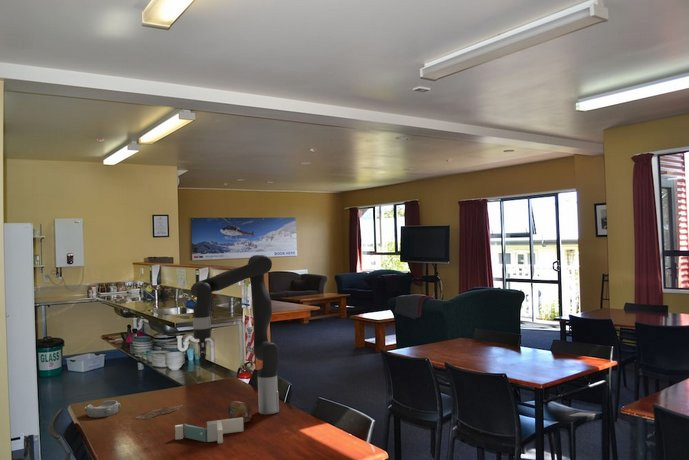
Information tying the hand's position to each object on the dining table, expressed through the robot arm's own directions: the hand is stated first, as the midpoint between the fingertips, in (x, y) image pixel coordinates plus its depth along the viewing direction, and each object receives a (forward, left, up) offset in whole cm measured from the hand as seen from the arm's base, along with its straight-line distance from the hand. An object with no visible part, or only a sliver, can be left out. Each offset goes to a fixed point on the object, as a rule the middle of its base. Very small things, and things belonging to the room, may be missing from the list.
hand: (202, 363), depth 236 cm
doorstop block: (-3, +18, -28) cm, 33 cm away
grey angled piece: (-2, +15, -28) cm, 32 cm away
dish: (+47, -40, -28) cm, 68 cm away
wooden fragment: (+20, -32, -29) cm, 47 cm away
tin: (-16, -4, -28) cm, 33 cm away
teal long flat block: (+4, +14, -28) cm, 32 cm away
